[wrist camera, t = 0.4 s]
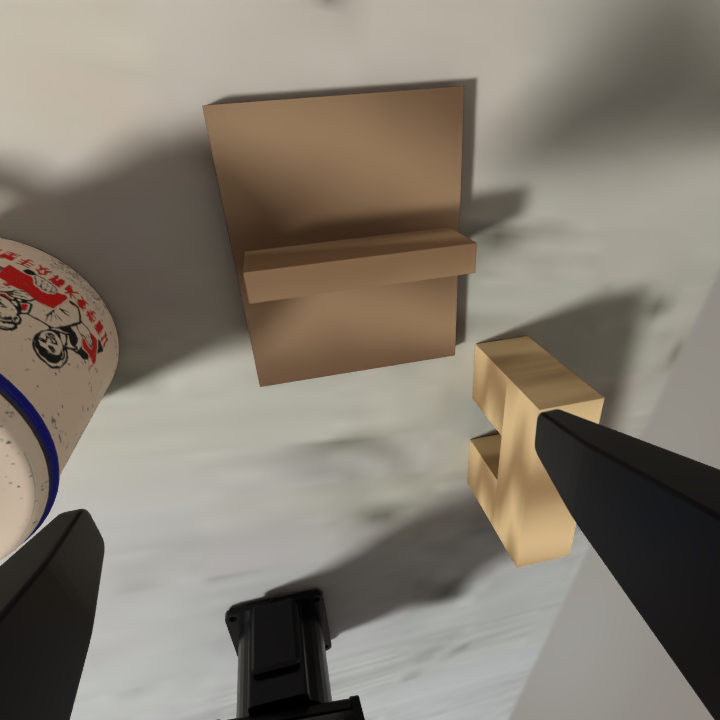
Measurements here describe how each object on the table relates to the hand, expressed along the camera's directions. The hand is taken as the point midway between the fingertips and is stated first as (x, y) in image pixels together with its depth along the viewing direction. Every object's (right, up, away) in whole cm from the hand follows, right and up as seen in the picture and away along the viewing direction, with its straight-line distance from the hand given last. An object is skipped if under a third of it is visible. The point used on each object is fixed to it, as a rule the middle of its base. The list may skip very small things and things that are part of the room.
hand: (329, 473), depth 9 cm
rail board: (0, +7, +12) cm, 14 cm away
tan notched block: (+9, -1, +18) cm, 20 cm away
